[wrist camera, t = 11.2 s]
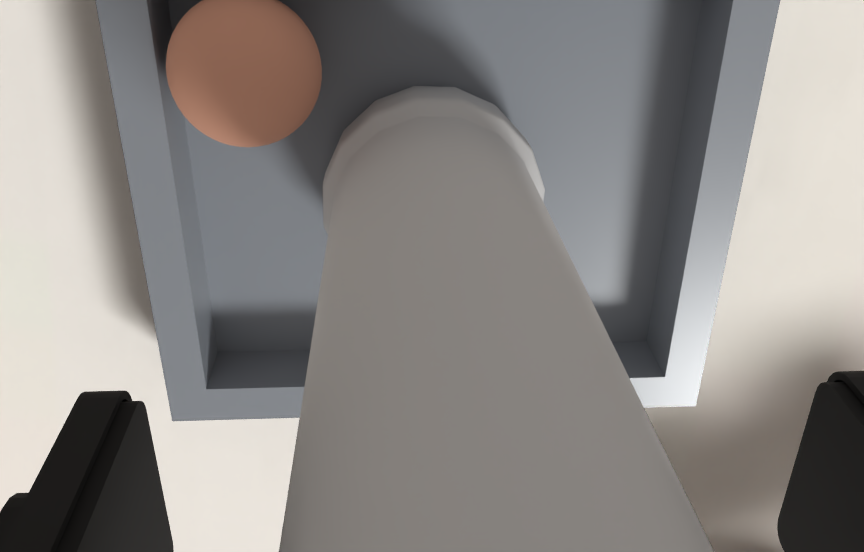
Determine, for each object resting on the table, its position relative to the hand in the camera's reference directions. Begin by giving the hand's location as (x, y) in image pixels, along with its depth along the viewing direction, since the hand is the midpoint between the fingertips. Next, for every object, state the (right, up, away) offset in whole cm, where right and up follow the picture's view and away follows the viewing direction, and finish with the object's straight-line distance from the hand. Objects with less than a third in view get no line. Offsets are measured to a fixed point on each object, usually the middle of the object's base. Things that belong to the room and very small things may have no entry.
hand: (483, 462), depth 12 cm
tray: (-1, +5, +10) cm, 11 cm away
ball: (-5, +8, +7) cm, 12 cm away
